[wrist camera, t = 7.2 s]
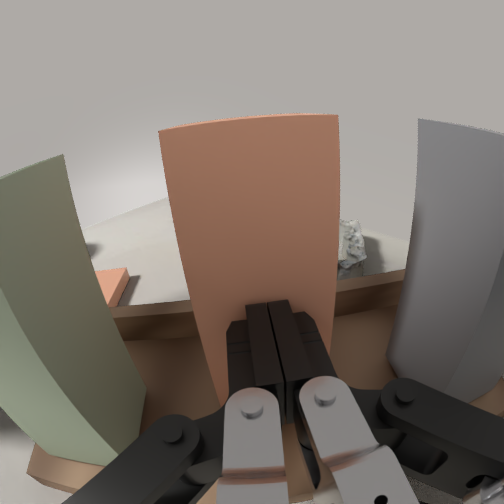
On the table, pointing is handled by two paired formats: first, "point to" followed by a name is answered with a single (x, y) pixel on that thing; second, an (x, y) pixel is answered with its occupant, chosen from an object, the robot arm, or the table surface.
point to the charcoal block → (454, 265)
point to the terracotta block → (255, 220)
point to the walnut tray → (201, 384)
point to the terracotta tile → (112, 284)
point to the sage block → (59, 327)
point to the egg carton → (351, 250)
